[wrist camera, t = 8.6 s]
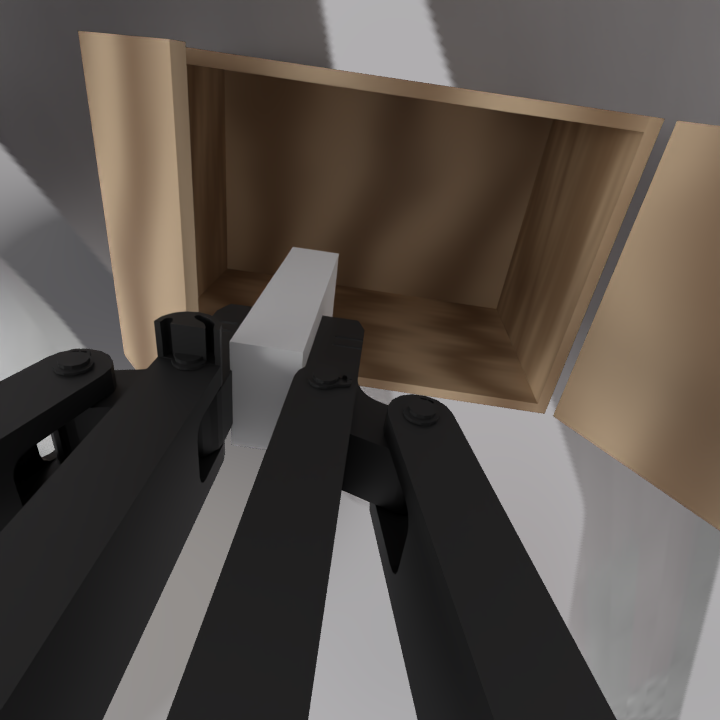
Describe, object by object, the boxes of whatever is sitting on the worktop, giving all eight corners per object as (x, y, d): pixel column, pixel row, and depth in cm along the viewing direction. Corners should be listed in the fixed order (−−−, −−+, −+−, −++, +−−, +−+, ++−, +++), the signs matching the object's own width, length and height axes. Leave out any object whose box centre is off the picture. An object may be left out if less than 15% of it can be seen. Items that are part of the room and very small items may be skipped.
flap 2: (730, 538, 17) (734, 534, 18) (1023, 165, 11) (1025, 166, 11) (552, 416, 23) (557, 414, 23) (677, 120, 16) (682, 121, 17)
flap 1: (185, 42, 12) (169, 38, 11) (205, 445, 18) (195, 449, 18) (90, 33, 16) (78, 31, 16) (133, 352, 23) (124, 354, 23)
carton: (222, 271, 33) (142, 352, 23) (218, 56, 27) (103, 35, 17) (500, 313, 33) (544, 413, 23) (563, 108, 27) (664, 118, 16)
